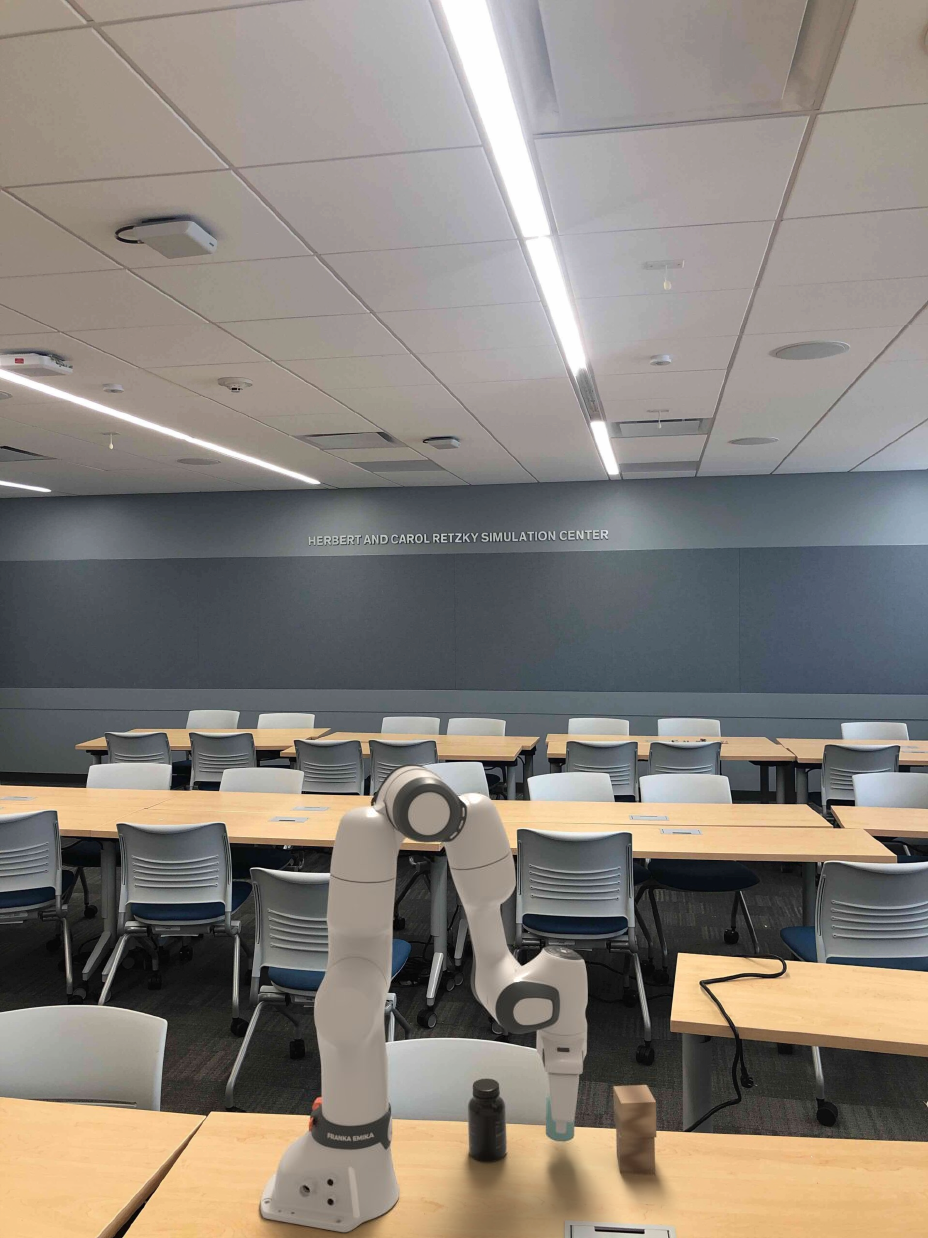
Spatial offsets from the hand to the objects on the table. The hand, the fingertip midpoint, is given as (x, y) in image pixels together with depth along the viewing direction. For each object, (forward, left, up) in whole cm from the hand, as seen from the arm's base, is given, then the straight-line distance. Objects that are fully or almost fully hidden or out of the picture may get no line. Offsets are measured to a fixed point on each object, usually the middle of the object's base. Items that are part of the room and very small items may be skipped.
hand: (560, 1121), depth 157 cm
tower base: (+13, 0, -7) cm, 15 cm away
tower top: (+13, 0, -1) cm, 13 cm away
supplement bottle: (-13, +2, -7) cm, 15 cm away
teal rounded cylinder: (0, 0, -2) cm, 2 cm away
